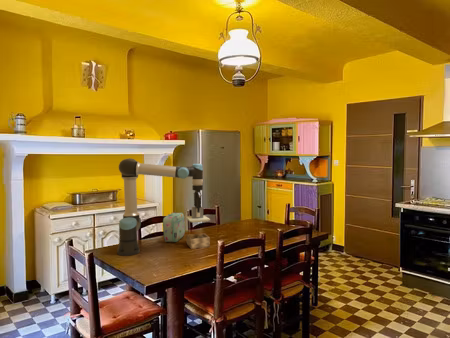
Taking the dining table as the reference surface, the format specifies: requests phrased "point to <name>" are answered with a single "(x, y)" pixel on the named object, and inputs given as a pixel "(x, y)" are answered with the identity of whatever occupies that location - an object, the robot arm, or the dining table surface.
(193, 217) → the lid
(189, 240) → the crate
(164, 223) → the lunch box
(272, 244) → the dining table surface
